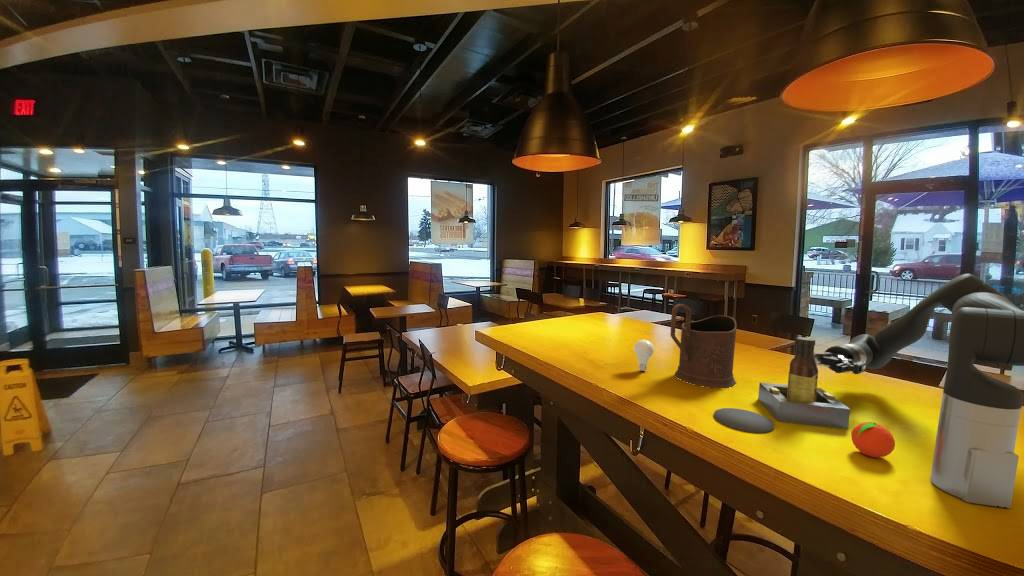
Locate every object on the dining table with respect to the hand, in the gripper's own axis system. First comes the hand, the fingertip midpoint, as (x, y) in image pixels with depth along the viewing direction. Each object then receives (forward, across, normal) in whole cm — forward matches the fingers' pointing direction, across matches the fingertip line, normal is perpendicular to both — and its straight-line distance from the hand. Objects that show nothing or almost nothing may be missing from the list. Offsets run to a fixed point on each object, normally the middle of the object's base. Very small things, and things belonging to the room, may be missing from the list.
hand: (818, 364), depth 111 cm
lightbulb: (+18, -44, +12) cm, 49 cm away
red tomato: (+19, +18, +12) cm, 29 cm away
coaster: (+26, -4, +12) cm, 29 cm away
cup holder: (+8, -30, +12) cm, 33 cm away
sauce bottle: (+8, 0, +12) cm, 14 cm away
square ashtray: (+8, 0, +12) cm, 14 cm away
